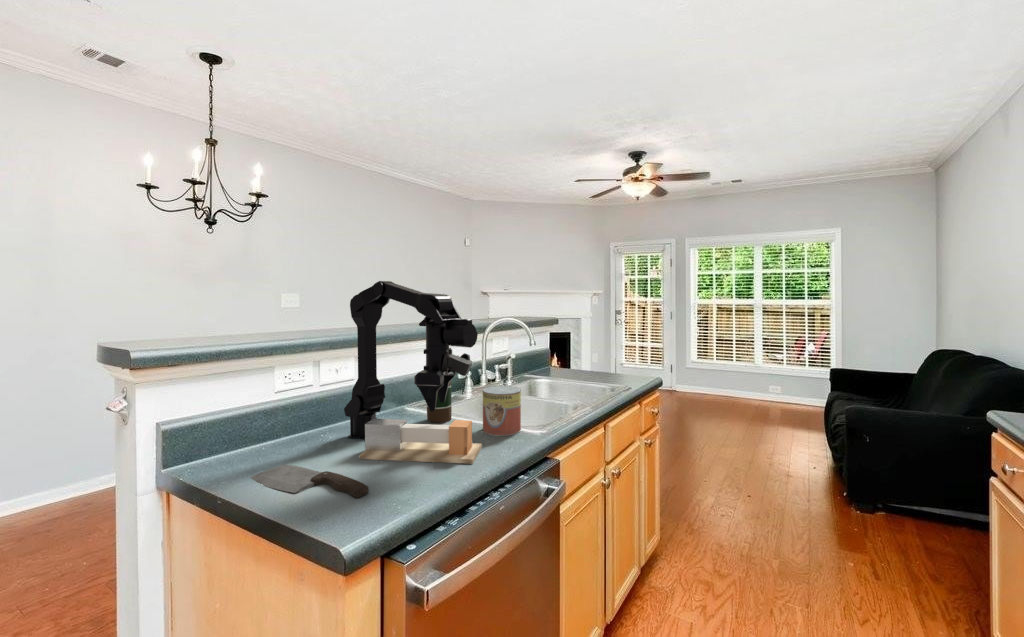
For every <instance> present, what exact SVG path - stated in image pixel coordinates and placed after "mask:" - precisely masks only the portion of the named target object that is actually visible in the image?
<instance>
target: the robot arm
mask: <svg viewBox="0 0 1024 637" xmlns="http://www.w3.org/2000/svg"><path fill="white" fill-rule="evenodd" d="M390 300H392V301H395V302H399V303H401V304H404V305H407V306H410V307H412V308H414V309H415V310H416V311H417V312H418V313H419V314H420V315H422V316H424V318H423V320H421V321H420V322H419V323H418V326H419V327H425V349H423V354H424V355H425V365H424V366H423V370H421V371H418V372H417V373H416V374H415V375H414V385H416V388H418V389H419V391H420V393H421V395H422V397H423V399H424V401H425V403H426V406H427V405H428V408H429V410H430V411H435V408H436V401H437V395H438V397H439V400H440V402H441V403H444V402H445V399H446V395H447V391H448V387H449V383H450V381H451V382H452V380H453V378H455V377H456V376H457V374H459V375H460V376H463V377H467V375H468V374H469V372H470V370H471V367H472V366H473V361H472V360H471V356H470V354H468V353H462V354H461V355H460V356H459V355H457V354H454V353H453V349H452V348H451V347H456V348H457V347H458V348H459V347H460V348H472V347H474V346H475V345H476V343H477V341H478V335H479V334H478V332H477V328H476V326H475V325H474V324H473V319H472V318H464V319H463V318H462V317H461V315H460V314H459V312H458V311H457V309H456V307H455V305H454V303H453V300H452V297H451V296H450V295H448V294H445V293H433V292H432V293H430V292H428V293H427V292H422V291H419V290H416V289H413V288H411V287H407V286H404V285H400V284H398V283H395V282H393V281H391V280H379V281H377V282H375V283H374V284H373V285H372V286H369V287H367V288H366V289H363V290H362V291H360V292H359V293H358V294H355V295H353V297H352V298H351V299H350V302H349V310H350V315H351V319H352V320H353V322H354V324H355V326H356V328H357V380H356V382H355V384H354V386H353V387H352V390H351V398H350V400H349V401H348V402H347V404H346V406H345V407H344V408H343V411H344V415H345V417H349V421H350V422H349V423H350V424H349V425H350V427H349V429H350V432H349V433H350V434H348V435H347V439H359V440H361V439H362V440H363V439H364V440H365V424H366V423H367V422H369V421H371V420H372V419H378V418H377V417H376V416H377V413H380V412H381V410H382V405H383V403H384V400H385V398H386V394H385V389H386V386H385V384H384V383H381V382H380V380H379V379H378V375H377V370H378V369H377V367H378V366H377V359H378V358H377V326H378V325H379V322H380V320H381V318H382V317H383V308H385V306H386V305H387V304H389V302H390Z"/></svg>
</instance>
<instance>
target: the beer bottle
mask: <svg viewBox="0 0 1024 637" xmlns="http://www.w3.org/2000/svg"><path fill="white" fill-rule="evenodd" d="M452 412H453V411H452V380H451V381H450V383H449V387H448V391H447V395H446V399H445V402H444V403H441V402H440V400H439V397H438V395H437V401H436V408H435V411H430V410H429V408H428V405H427V404H426V419H427V421H428V422H429V423H432V424H442V423H448V422H451V420H452V415H453V414H452Z"/></svg>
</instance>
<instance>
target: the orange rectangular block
mask: <svg viewBox="0 0 1024 637" xmlns="http://www.w3.org/2000/svg"><path fill="white" fill-rule="evenodd" d="M449 425H450V426H449V454H457V455H467V454H468V453H469V451H470V450H471V448H472V443H473V420H463V419H462V420H459V419H454V420H453V421H452V422H451V423H450V424H449Z"/></svg>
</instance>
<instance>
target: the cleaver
mask: <svg viewBox="0 0 1024 637" xmlns="http://www.w3.org/2000/svg"><path fill="white" fill-rule="evenodd" d="M249 478H250V480H253V481H255V483H258V484H259V483H260V484H259V485H261V484H263V485H264V486H263V485H262V486H263V487H266V488H269V489H273V490H277V491H281V492H287V493H292V494H296V493H299V492H301V493H302V492H304V491H306V490H309V489H311V488H312V487H316V486H321V485H325V486H326V485H327V486H329V487H331V488H333V489H334V490H335V491H338V492H342V493H345V494H348V495H350V496H352V497H353V498H354V499H359V498H362V497H363V496H366V495H367V494H368V493H369V487H368V485H366V484H365V483H364V482H361V481H358V480H356V479H354V478H352V477H349V476H345V475H343V474H339V473H336V472H332V471H328V470H326V471H318V470H314V469H310V468H306V467H301V466H297V465H292V464H281V465H279V466H276V467H273V468H270V469H267V470H265V471H262V472H259V473H256V474H254V475H252V476H250V477H249Z"/></svg>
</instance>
